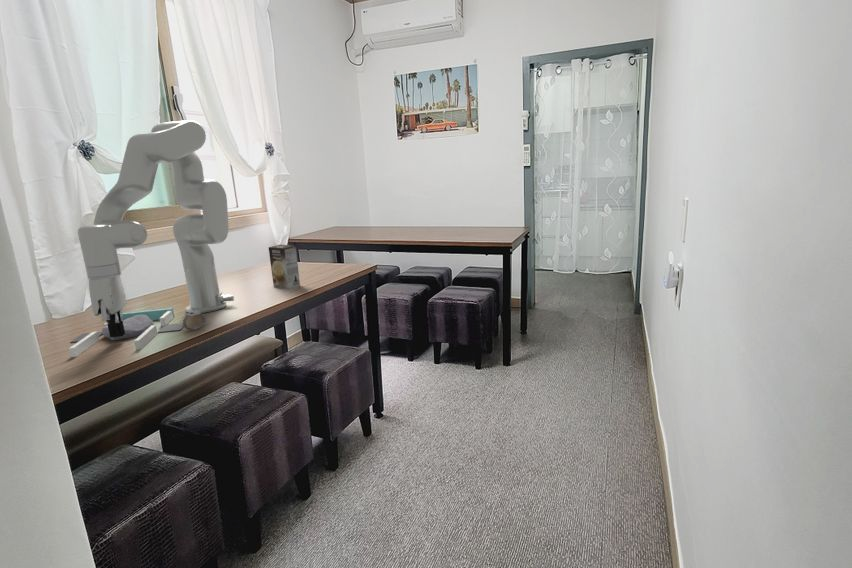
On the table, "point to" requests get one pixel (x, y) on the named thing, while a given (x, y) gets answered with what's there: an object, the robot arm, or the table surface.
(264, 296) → the table surface
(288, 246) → the coffee box
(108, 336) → the stone block
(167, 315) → the trap channel
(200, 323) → the wristwatch
